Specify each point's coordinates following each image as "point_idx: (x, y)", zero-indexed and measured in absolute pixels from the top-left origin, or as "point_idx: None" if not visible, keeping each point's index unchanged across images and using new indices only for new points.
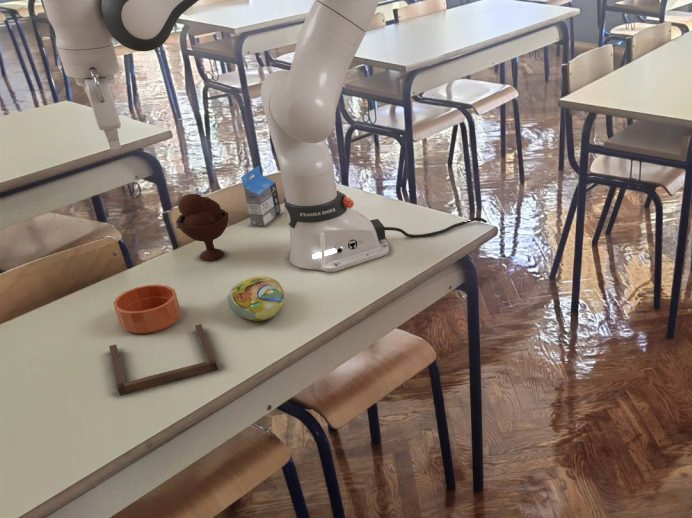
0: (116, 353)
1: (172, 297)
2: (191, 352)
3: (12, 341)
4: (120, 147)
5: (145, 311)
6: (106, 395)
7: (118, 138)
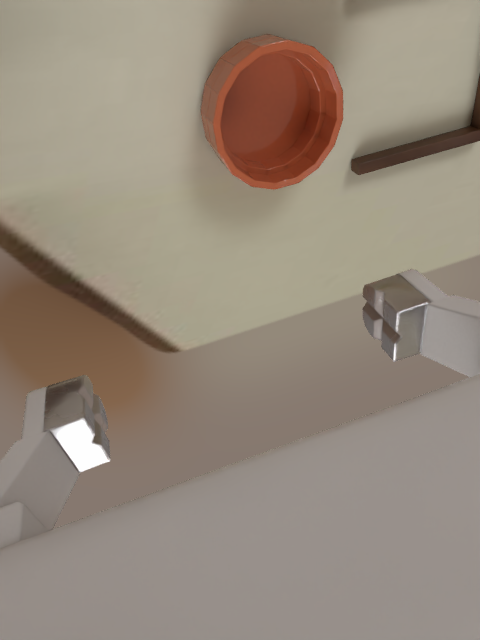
0: (389, 157)
1: (302, 49)
2: (423, 5)
3: (250, 325)
4: (413, 270)
5: (342, 112)
6: (464, 155)
7: (461, 297)
